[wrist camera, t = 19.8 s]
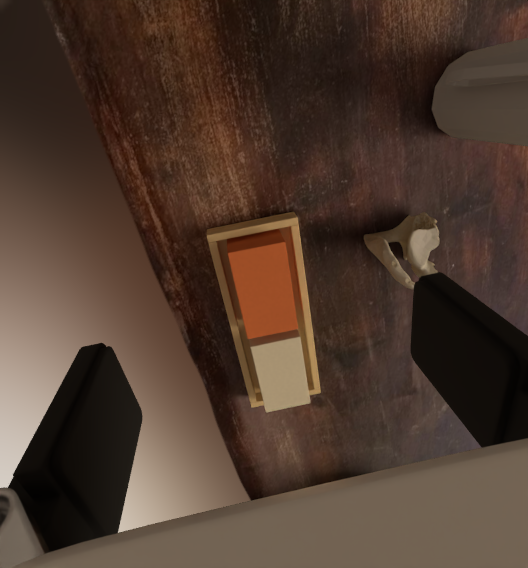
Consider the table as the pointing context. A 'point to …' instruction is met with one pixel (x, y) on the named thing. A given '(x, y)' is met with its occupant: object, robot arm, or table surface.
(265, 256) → the orange angular block
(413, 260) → the bone
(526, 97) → the water bottle
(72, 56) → the table surface
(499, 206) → the table surface
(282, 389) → the cream rectangular block
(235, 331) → the wooden tray
